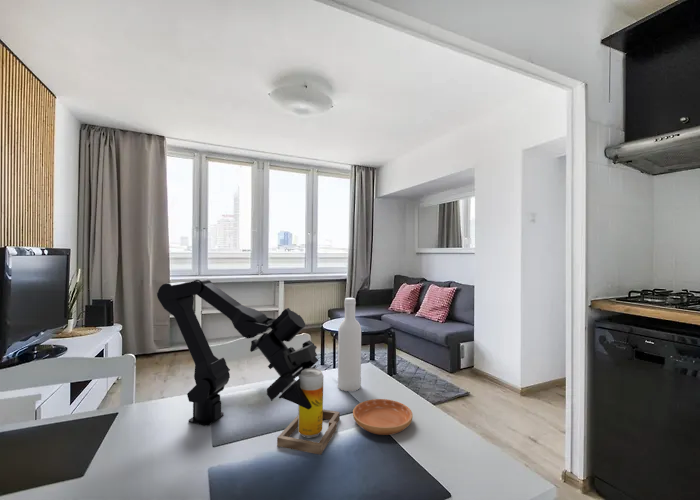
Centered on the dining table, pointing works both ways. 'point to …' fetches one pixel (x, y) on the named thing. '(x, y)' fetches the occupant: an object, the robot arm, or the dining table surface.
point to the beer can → (313, 390)
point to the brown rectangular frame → (305, 445)
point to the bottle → (349, 349)
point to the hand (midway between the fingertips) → (315, 402)
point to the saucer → (382, 416)
